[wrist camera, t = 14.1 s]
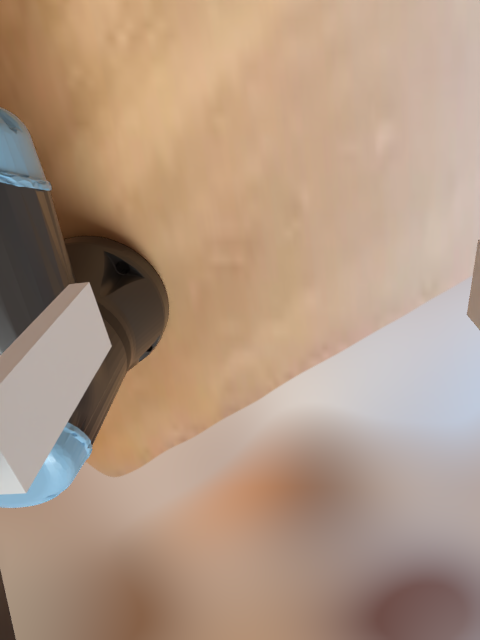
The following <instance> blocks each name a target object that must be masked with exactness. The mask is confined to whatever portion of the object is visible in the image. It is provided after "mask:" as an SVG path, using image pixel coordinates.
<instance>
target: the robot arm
mask: <svg viewBox="0 0 480 640" xmlns="http://www.w3.org/2000/svg"><path fill="white" fill-rule="evenodd" d="M50 190H52V187H51V184H50V182H49V181H47V180H46V177H45V175H44V172H43V169H42V166H41V164H40V161H39V158H38V155H37V153H36V150H35V147H34V144H33V141H32V138H31V135H30V133H29V131H28V129H27V128H26V126H25V125H24V123H23V122H22V121H21V120H20V119H19V118H18V117H17V116H15V115H14V114H13V113H11V112H10V111H8V110H6V109H4V108H1V107H0V507H3V508H16V507H28V506H33V505H37V504H41V503H44V502H47V501H49V500H51V499H53V498H54V497H57V496H58V495H59V494H60V493H61V492H62V491H64V490H65V489H67V488H68V487H69V485H70V484H71V483H72V481H73V480H74V478H75V477H76V475H77V473H78V472H79V470H80V468H81V467H82V465H83V464H84V462H85V461H86V460H87V459H88V457H89V456H90V454H91V451H92V447H93V446H92V445H93V443H94V441H95V438H96V436H97V434H98V432H99V430H100V428H101V426H102V424H103V421H104V419H105V417H106V415H107V413H108V411H109V409H110V406H111V404H112V402H113V400H114V398H115V396H116V394H117V392H118V389H119V387H120V385H121V383H122V381H123V379H124V377H125V375H126V373H127V371H129V370H130V369H131V368H133V367H134V366H135V365H136V364H138V362H140V361H141V360H143V359H144V358H145V357H147V356H148V355H149V354H150V353H151V352H152V351H153V350H154V349H155V347H156V346H157V344H158V343H159V341H160V339H161V337H162V335H163V332H164V330H165V327H166V325H167V321H168V316H169V303H168V297H167V293H166V290H165V287H164V285H163V283H162V281H161V279H160V277H159V276H158V274H157V273H156V271H155V270H154V269H153V268H152V266H151V265H150V264H149V263H148V262H147V261H146V260H145V259H144V258H143V257H141V256H140V255H139V254H138V253H136V252H135V251H133V250H132V249H130V248H128V247H127V246H125V245H123V244H121V243H118V242H116V241H113V240H110V239H106V238H102V237H95V236H78V237H72V238H68V239H65V240H64V239H63V236H62V232H61V229H60V226H59V222H58V218H57V215H56V211H55V207H54V204H53V200H52V197H51V193H50ZM467 315H468V317H469V318H470V319H471V320H472V321H473V322H474V324H475V325H476V326H477V327H478V328H479V330H480V240H478V245H477V252H476V258H475V265H474V272H473V278H472V285H471V292H470V298H469V305H468V312H467ZM0 640H16V639H15V635H14V630H13V625H12V621H11V616H10V612H9V607H8V602H7V598H6V593H5V589H4V584H3V580H2V575H1V571H0Z"/></svg>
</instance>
